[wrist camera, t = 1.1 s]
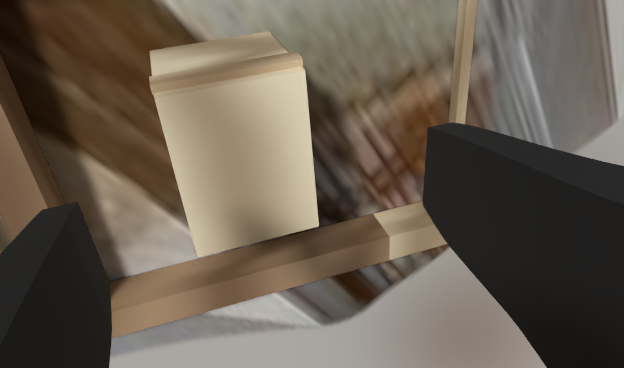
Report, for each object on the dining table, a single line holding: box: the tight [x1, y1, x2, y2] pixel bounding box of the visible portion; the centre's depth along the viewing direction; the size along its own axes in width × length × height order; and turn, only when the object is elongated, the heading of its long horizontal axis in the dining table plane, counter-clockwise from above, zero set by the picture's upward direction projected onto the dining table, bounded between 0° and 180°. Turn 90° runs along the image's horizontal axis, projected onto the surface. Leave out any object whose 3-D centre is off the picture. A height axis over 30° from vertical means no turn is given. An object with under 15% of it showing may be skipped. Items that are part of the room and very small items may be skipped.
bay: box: [0, 0, 478, 338], centre depth 19 cm, size 20×17×2 cm
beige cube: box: [149, 31, 319, 257], centre depth 18 cm, size 5×6×5 cm
